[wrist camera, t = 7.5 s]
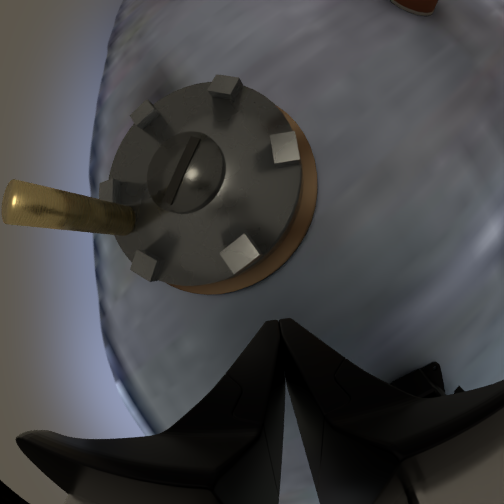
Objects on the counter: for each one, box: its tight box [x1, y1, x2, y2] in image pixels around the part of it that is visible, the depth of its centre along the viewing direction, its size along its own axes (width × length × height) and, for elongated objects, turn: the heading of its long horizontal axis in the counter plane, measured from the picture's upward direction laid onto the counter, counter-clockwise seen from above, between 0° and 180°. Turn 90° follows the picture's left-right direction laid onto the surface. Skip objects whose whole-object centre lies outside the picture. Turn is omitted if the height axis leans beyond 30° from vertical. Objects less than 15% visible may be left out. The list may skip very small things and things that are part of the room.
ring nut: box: [2, 75, 304, 286], centre depth 15 cm, size 16×16×14 cm
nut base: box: [167, 106, 317, 294], centre depth 23 cm, size 18×18×2 cm
